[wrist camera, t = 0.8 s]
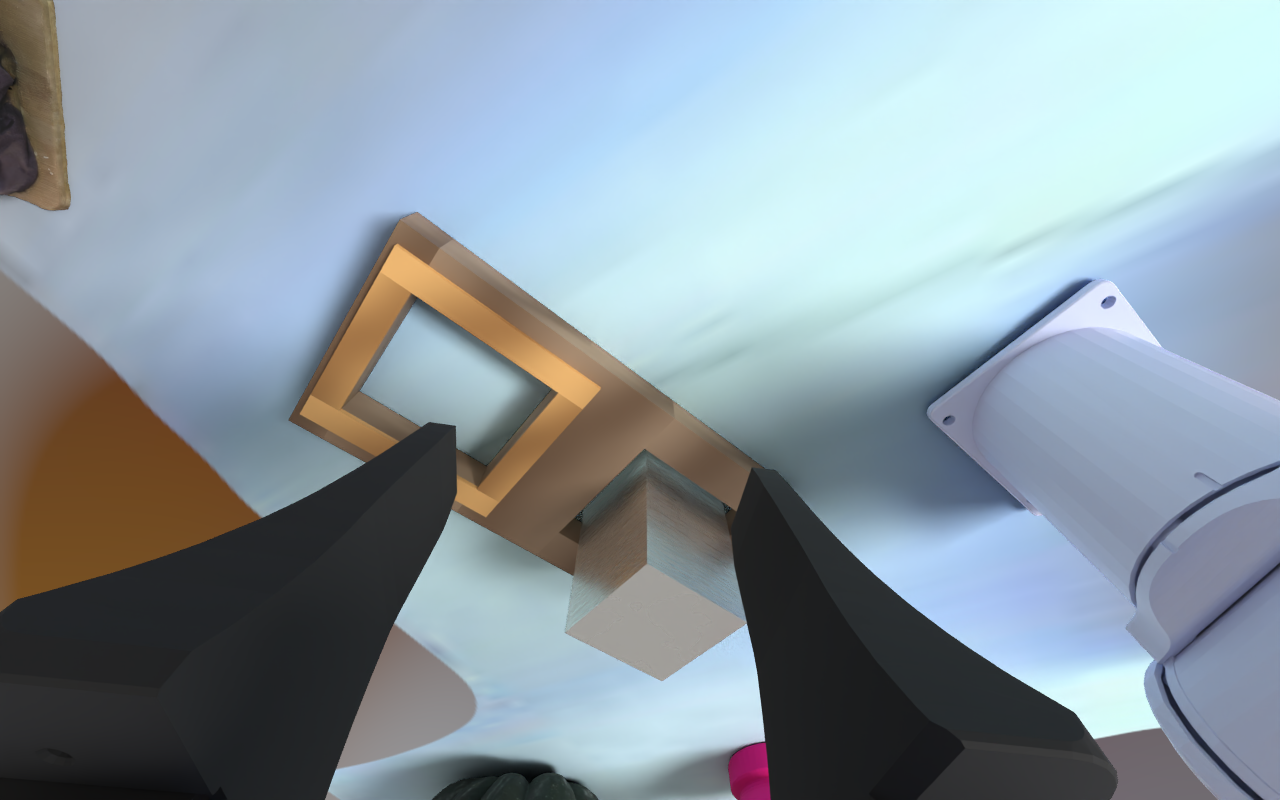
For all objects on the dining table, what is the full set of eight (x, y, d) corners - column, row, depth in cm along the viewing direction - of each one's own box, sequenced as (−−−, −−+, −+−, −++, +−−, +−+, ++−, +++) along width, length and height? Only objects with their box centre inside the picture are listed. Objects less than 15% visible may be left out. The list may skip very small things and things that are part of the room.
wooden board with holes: (794, 490, 25) (803, 514, 23) (656, 598, 29) (657, 624, 27) (417, 211, 18) (397, 220, 17) (309, 402, 22) (285, 422, 21)
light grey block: (722, 499, 25) (747, 622, 19) (658, 553, 27) (661, 681, 21) (646, 447, 23) (647, 563, 17) (583, 509, 25) (564, 632, 19)
